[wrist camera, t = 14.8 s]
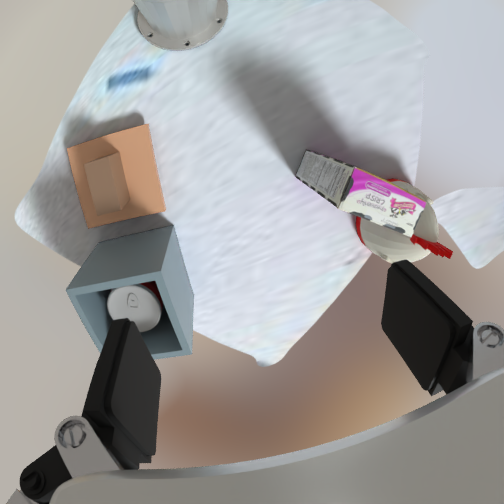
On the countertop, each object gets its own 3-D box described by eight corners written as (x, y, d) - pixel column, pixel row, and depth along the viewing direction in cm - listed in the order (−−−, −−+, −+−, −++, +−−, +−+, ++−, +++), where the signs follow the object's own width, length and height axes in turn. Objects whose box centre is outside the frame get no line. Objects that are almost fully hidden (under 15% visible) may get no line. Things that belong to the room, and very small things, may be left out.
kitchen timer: (401, 257, 52) (447, 299, 39) (344, 244, 49) (388, 291, 36) (427, 191, 47) (483, 220, 34) (371, 168, 44) (429, 193, 30)
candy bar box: (365, 171, 44) (429, 202, 29) (354, 199, 46) (412, 240, 31) (304, 146, 41) (355, 165, 26) (293, 177, 43) (337, 211, 28)
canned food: (160, 243, 44) (148, 279, 35) (175, 285, 48) (169, 328, 38) (117, 253, 44) (97, 290, 34) (134, 294, 48) (120, 336, 38)
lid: (73, 146, 36) (50, 153, 29) (150, 123, 37) (138, 124, 30) (93, 222, 42) (75, 242, 35) (167, 206, 42) (159, 223, 36)
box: (98, 242, 43) (65, 289, 30) (173, 225, 44) (161, 271, 31) (125, 307, 49) (107, 364, 36) (194, 295, 49) (192, 354, 37)
